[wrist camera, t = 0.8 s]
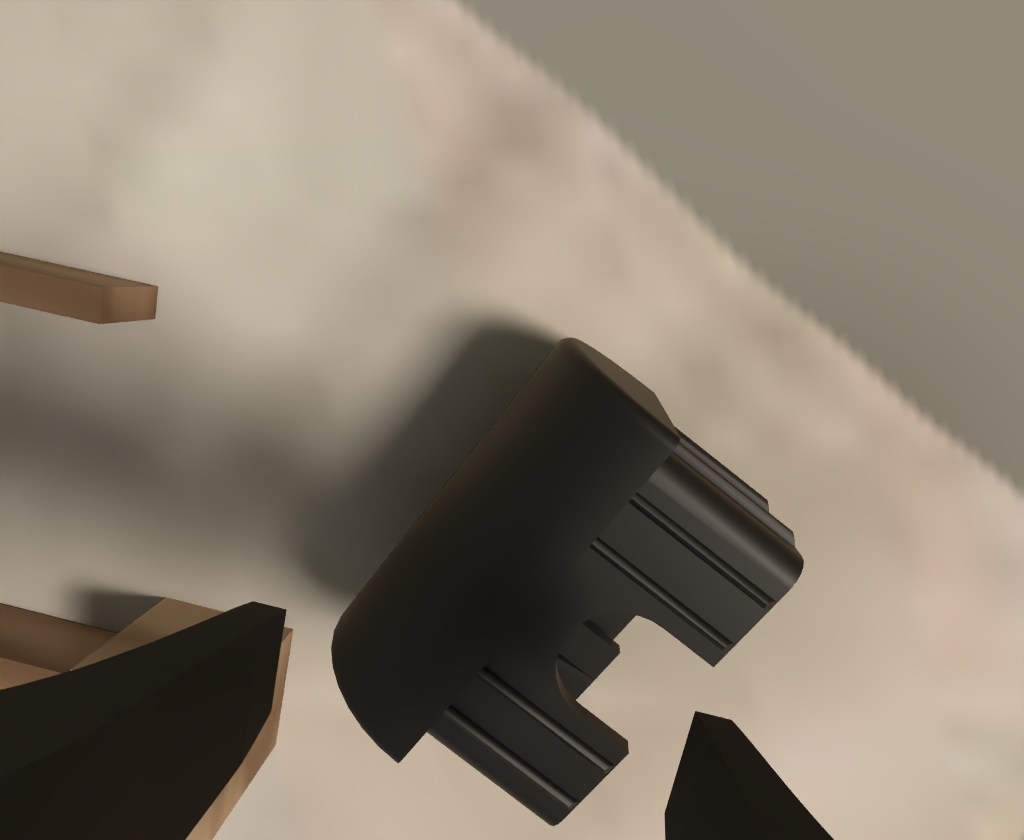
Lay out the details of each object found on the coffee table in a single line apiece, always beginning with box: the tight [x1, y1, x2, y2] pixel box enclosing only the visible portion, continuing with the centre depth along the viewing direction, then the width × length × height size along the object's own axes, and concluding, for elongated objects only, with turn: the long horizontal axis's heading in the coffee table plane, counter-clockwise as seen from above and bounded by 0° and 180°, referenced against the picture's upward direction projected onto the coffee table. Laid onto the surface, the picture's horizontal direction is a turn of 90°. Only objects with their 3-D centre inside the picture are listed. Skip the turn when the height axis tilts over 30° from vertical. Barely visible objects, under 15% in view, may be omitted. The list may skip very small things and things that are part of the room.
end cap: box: [331, 338, 804, 826], centre depth 18 cm, size 10×7×7 cm
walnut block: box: [70, 598, 293, 840], centre depth 22 cm, size 4×4×4 cm
